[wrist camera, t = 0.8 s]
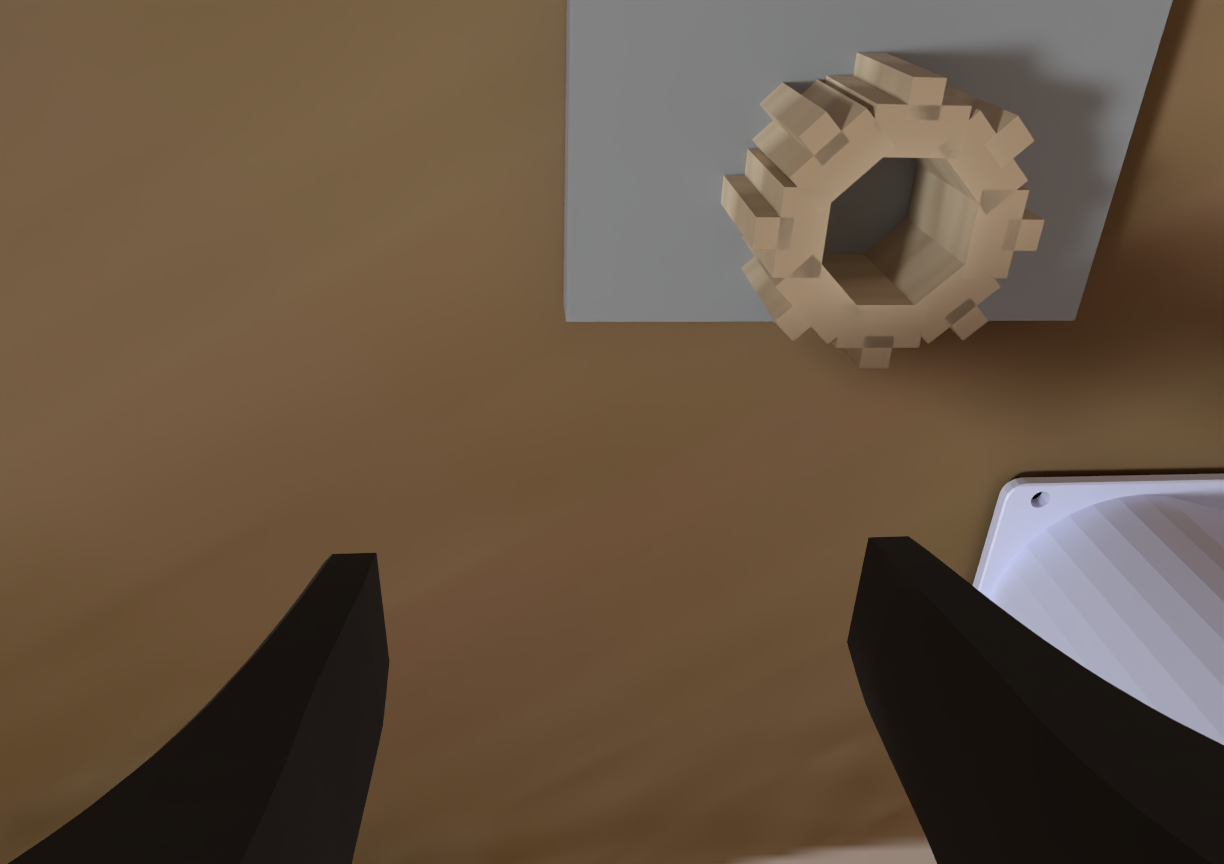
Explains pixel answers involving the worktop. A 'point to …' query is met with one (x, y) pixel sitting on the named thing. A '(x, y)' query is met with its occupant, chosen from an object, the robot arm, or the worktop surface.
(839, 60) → the gear board
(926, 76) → the loose gear
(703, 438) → the worktop surface
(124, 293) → the worktop surface
